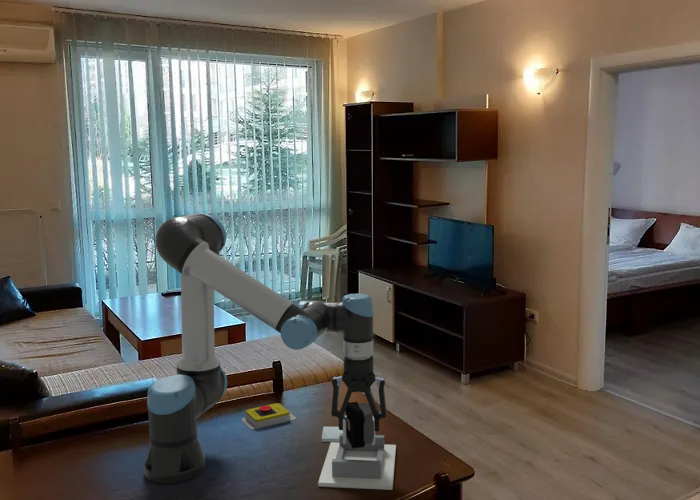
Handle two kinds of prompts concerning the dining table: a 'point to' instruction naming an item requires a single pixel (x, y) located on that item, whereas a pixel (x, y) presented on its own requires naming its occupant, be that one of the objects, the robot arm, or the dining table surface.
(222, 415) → the dining table surface
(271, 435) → the dining table surface
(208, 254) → the robot arm
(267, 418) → the emergency button
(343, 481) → the housing
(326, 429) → the hard drive
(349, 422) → the cpu cooler
